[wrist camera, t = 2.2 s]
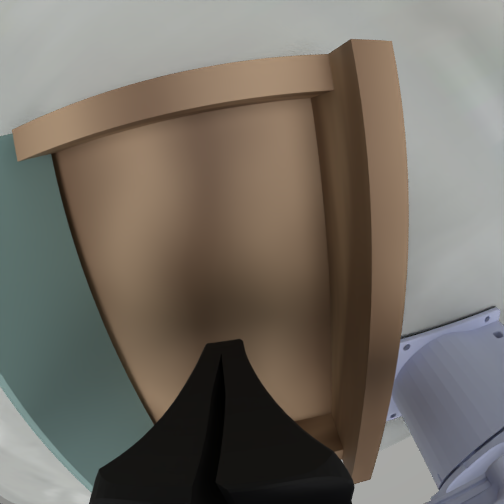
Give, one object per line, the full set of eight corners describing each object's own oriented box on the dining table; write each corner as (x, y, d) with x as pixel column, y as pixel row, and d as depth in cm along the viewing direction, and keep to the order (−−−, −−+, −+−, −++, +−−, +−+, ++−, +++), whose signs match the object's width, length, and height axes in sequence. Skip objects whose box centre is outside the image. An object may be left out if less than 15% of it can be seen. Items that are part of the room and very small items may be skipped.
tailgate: (45, 126, 11) (-79, 161, 5) (170, 451, 18) (132, 521, 13) (30, 134, 11) (-86, 170, 6) (155, 447, 18) (116, 514, 13)
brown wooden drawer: (324, 73, 13) (391, 41, 7) (342, 404, 20) (370, 479, 14) (49, 132, 12) (-41, 145, 6) (159, 429, 20) (147, 505, 14)
